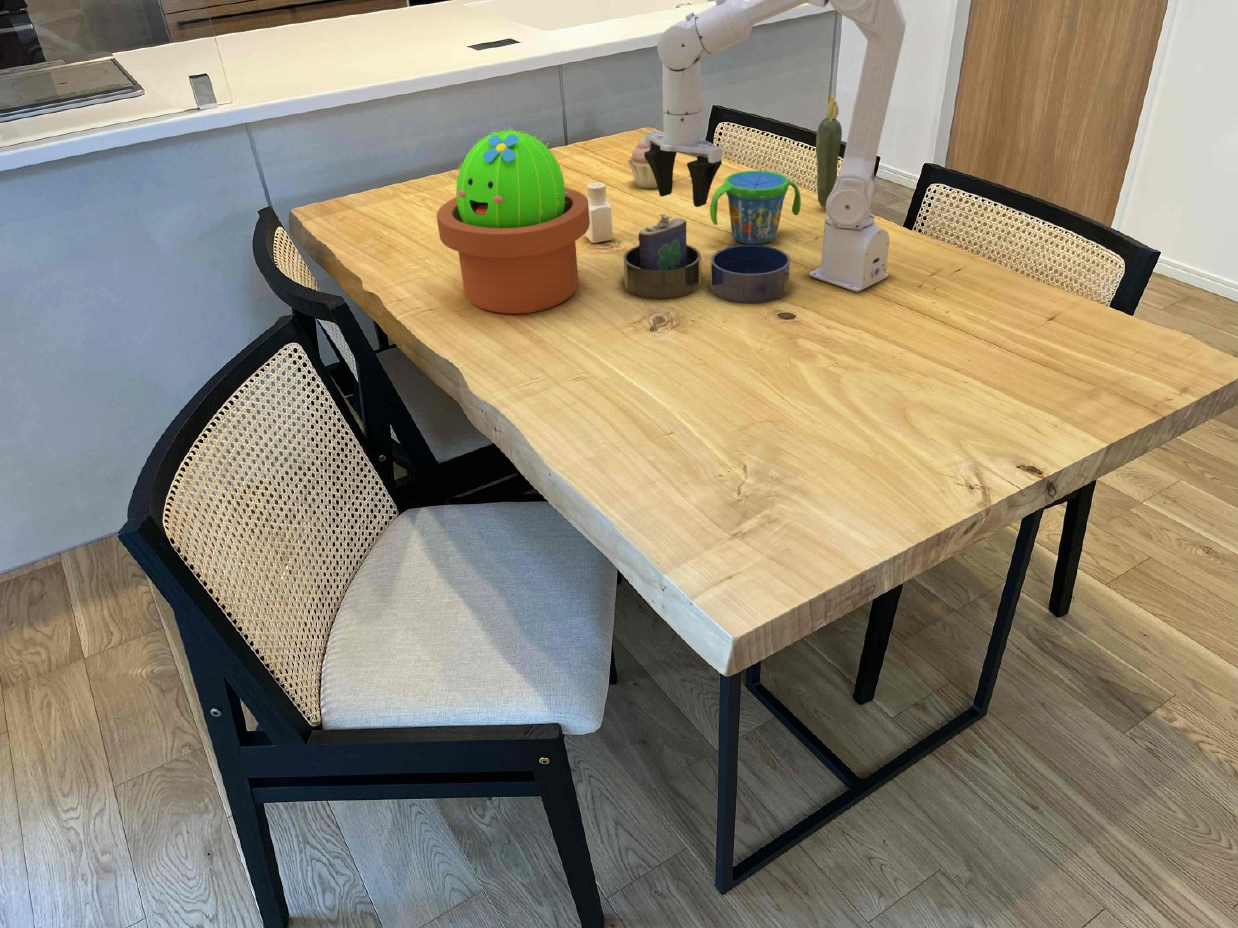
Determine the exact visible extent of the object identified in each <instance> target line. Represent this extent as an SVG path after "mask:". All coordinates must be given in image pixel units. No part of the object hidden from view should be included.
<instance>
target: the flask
mask: <svg viewBox="0 0 1238 928" xmlns="http://www.w3.org/2000/svg"><path fill="white" fill-rule="evenodd" d="M659 216H660V218H661V219H660V220H658V222H657V223H656V225H655V224H654V225H652V227H649V226H646V227H645V228H643V229H642V230H640V231H639V232H638V246H639V250H640V268H642V269H649V270H671V269H677V268H681V267H685V266H687V256H686V248H687V245H688V244H687V220H686V219H684V218H678V217H676V218H673V219H672V216H668V215H666V213H662V214H659ZM670 219H671V220H670Z"/></svg>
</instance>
